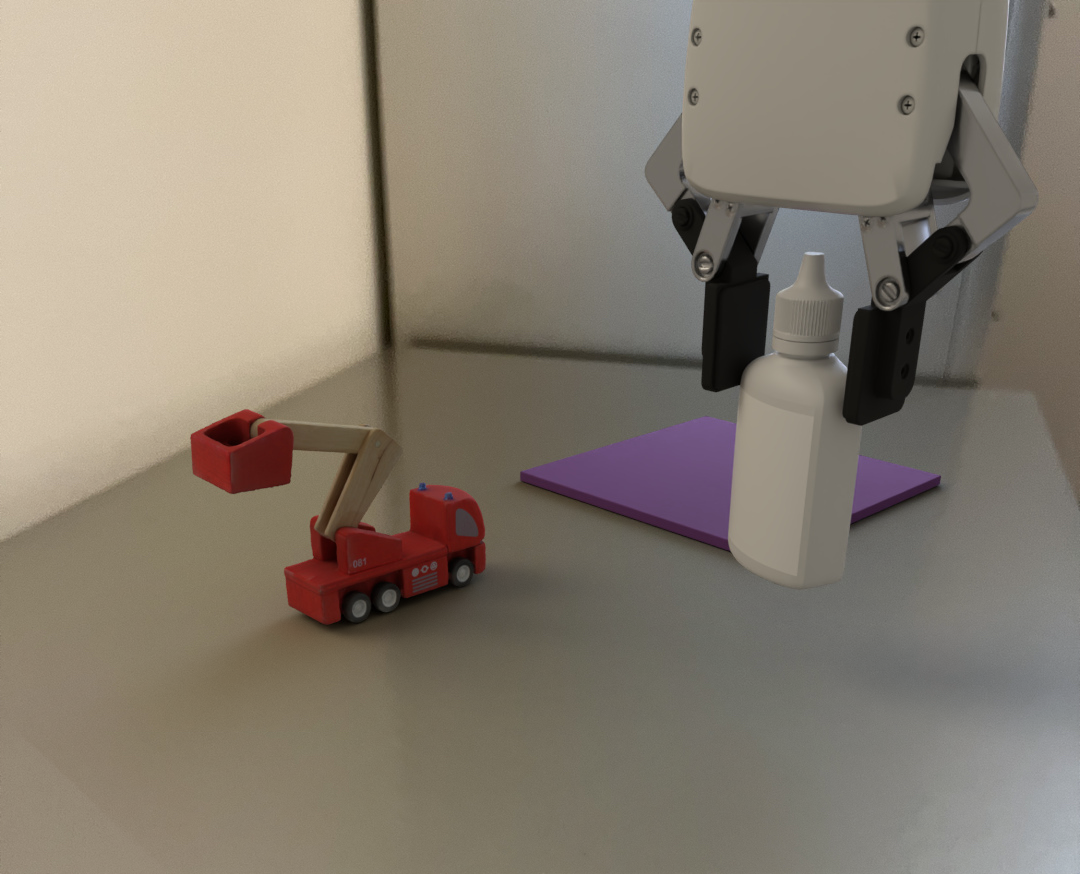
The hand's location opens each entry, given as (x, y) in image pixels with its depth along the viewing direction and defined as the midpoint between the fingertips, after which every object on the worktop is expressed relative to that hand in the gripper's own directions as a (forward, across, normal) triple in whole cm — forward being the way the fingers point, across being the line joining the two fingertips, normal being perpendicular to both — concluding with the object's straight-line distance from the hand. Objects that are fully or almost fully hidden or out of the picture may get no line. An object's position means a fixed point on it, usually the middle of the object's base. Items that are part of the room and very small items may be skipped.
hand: (799, 395), depth 45 cm
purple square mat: (+12, +16, -18) cm, 27 cm away
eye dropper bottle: (+7, 0, 0) cm, 7 cm away
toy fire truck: (+12, +17, +9) cm, 22 cm away
